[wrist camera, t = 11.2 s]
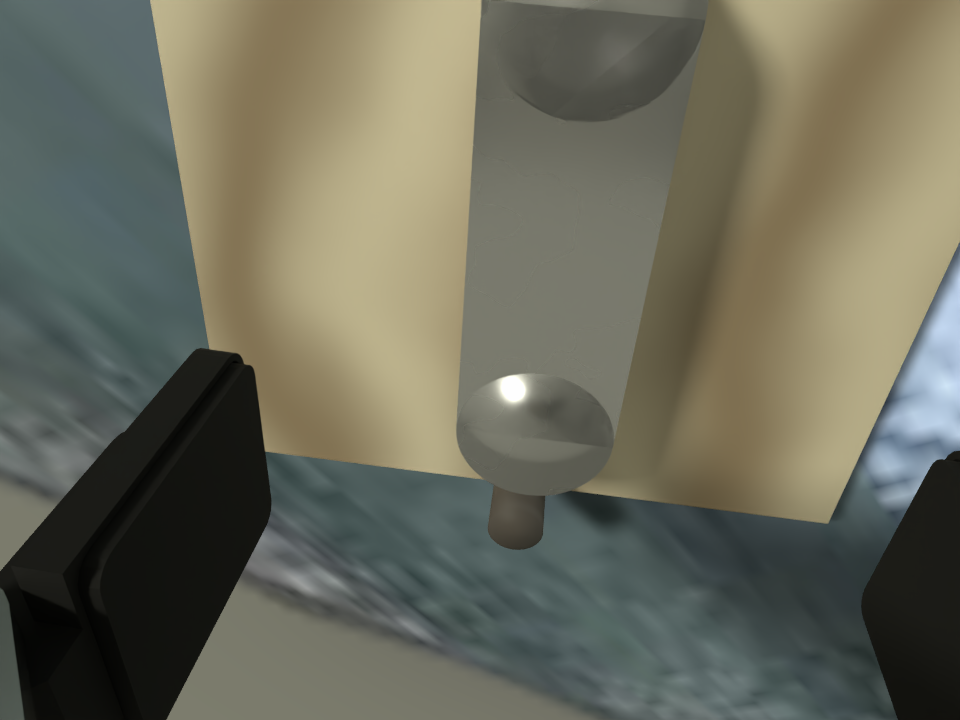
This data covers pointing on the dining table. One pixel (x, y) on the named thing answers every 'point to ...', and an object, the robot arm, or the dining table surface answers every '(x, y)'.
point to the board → (678, 257)
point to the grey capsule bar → (565, 225)
